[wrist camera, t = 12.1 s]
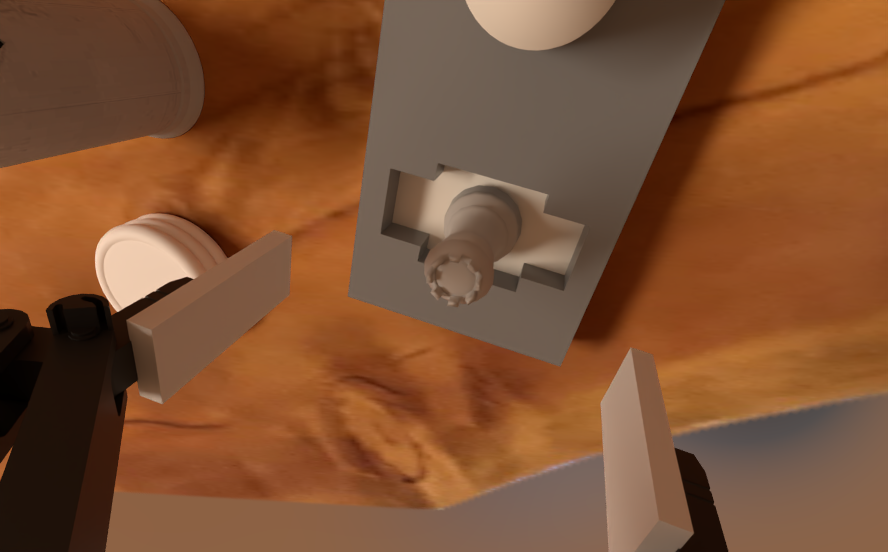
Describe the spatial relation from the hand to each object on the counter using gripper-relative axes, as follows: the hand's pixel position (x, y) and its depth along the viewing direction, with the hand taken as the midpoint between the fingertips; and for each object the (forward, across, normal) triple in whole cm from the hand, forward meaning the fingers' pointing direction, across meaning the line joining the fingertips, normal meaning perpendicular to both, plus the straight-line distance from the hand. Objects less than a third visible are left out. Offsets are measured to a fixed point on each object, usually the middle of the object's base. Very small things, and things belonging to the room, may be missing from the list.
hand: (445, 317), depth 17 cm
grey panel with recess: (+12, +1, -6) cm, 13 cm away
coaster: (+12, +23, +12) cm, 28 cm away
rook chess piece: (+11, 0, 0) cm, 11 cm away
